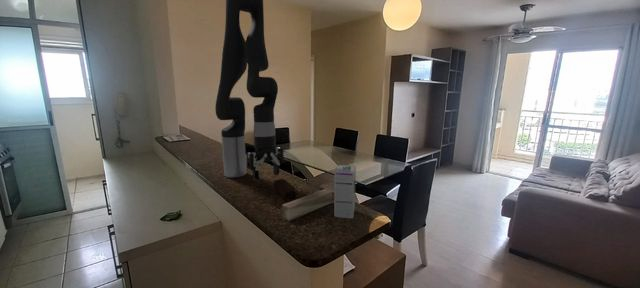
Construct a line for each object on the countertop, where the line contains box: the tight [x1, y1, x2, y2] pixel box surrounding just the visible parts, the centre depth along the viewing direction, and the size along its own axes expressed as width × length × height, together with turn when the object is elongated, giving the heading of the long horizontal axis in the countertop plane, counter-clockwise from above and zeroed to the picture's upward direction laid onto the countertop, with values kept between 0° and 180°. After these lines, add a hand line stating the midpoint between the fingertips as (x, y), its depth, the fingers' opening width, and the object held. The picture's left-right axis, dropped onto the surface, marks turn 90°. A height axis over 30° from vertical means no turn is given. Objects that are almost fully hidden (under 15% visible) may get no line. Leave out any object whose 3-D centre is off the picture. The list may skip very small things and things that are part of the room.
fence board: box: [281, 188, 333, 222], centre depth 82 cm, size 3×18×4 cm, turn 135°
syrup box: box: [333, 164, 356, 220], centre depth 79 cm, size 6×6×14 cm
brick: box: [273, 178, 297, 202], centre depth 93 cm, size 11×4×5 cm, turn 31°
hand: (266, 177), depth 97 cm, fingers open, 8 cm apart
